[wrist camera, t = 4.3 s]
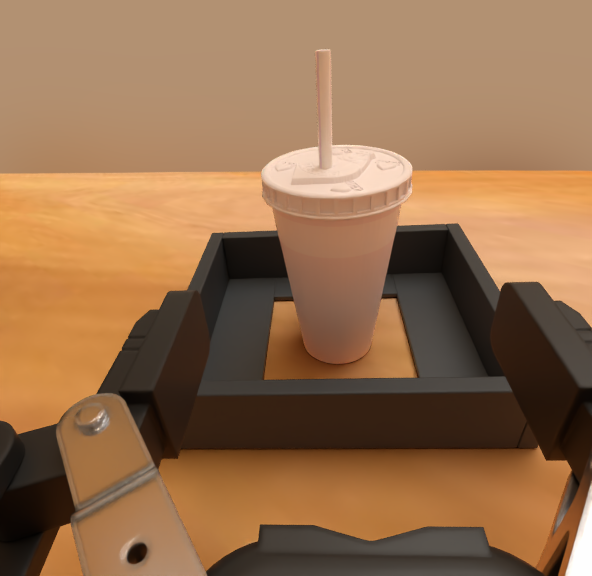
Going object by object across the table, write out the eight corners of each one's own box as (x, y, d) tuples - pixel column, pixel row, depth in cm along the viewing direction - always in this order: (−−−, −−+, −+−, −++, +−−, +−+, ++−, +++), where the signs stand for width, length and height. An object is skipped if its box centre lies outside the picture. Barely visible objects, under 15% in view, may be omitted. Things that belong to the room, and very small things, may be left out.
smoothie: (256, 338, 24) (212, 55, 16) (338, 291, 27) (336, 37, 19) (336, 405, 20) (331, 66, 12) (422, 340, 23) (464, 40, 15)
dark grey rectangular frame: (161, 449, 18) (140, 396, 16) (220, 276, 29) (211, 232, 27) (537, 448, 17) (562, 391, 15) (450, 269, 28) (458, 223, 26)
